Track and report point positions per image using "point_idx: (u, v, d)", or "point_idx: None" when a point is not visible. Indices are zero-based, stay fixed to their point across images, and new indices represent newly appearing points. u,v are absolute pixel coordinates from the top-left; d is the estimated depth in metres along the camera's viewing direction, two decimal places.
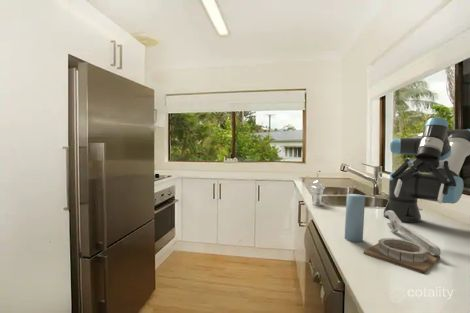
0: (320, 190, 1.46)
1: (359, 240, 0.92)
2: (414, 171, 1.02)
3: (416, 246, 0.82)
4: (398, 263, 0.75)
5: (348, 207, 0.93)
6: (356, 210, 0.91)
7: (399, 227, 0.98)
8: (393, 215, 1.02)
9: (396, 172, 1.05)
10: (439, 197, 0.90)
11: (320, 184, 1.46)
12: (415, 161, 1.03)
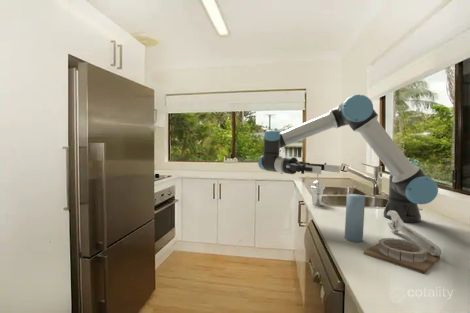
0: (320, 190, 1.46)
1: (359, 240, 0.92)
2: (309, 165, 1.12)
3: (416, 246, 0.82)
4: (398, 263, 0.75)
5: (348, 207, 0.93)
6: (356, 210, 0.91)
7: (400, 227, 0.98)
8: (396, 215, 1.02)
9: None
10: (318, 173, 0.98)
11: (320, 184, 1.46)
12: None
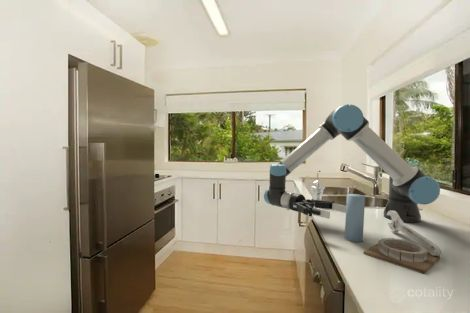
0: (320, 190, 1.46)
1: (359, 240, 0.92)
2: (316, 204, 1.09)
3: (416, 246, 0.82)
4: (398, 263, 0.75)
5: (348, 207, 0.93)
6: (356, 210, 0.91)
7: (400, 227, 0.98)
8: (396, 215, 1.02)
9: None
10: None
11: (320, 184, 1.46)
12: None
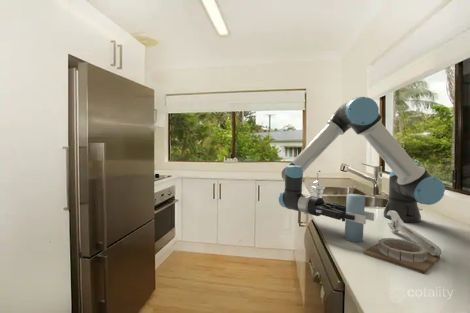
0: (320, 190, 1.46)
1: (359, 240, 0.92)
2: (336, 208, 1.01)
3: (416, 246, 0.82)
4: (398, 263, 0.75)
5: (348, 207, 0.93)
6: (356, 210, 0.91)
7: (400, 227, 0.98)
8: (396, 215, 1.02)
9: None
10: None
11: (320, 184, 1.46)
12: None
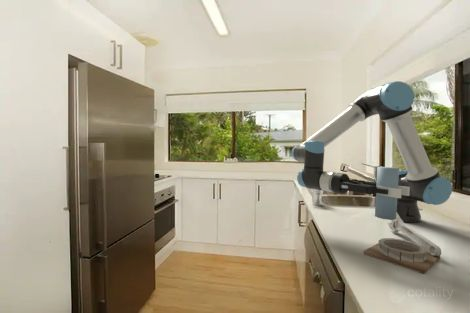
0: (320, 190, 1.46)
1: (392, 217, 0.81)
2: (364, 184, 0.91)
3: (416, 246, 0.82)
4: (398, 263, 0.75)
5: (379, 181, 0.83)
6: (389, 184, 0.81)
7: (400, 227, 0.98)
8: (396, 215, 1.02)
9: None
10: (397, 197, 0.78)
11: None
12: None
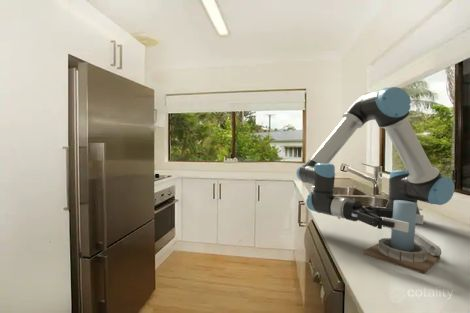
0: None
1: None
2: (378, 212, 0.89)
3: (416, 246, 0.82)
4: (398, 263, 0.75)
5: (396, 216, 0.80)
6: (406, 220, 0.78)
7: None
8: None
9: None
10: None
11: None
12: None
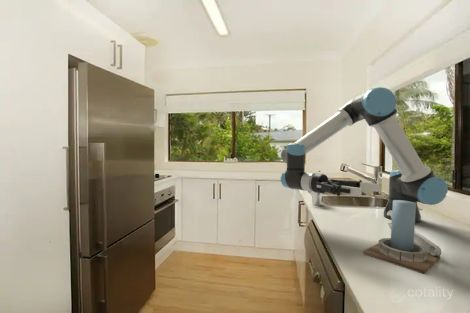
0: None
1: None
2: (342, 183, 0.99)
3: (416, 246, 0.82)
4: (398, 263, 0.75)
5: (396, 216, 0.80)
6: (406, 220, 0.78)
7: None
8: None
9: None
10: (358, 196, 0.84)
11: None
12: None
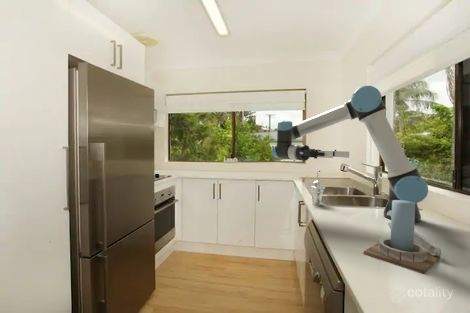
0: (320, 190, 1.46)
1: None
2: None
3: (416, 246, 0.82)
4: (398, 263, 0.75)
5: (395, 216, 0.80)
6: (405, 220, 0.78)
7: None
8: None
9: None
10: (330, 157, 1.07)
11: (320, 184, 1.46)
12: None
